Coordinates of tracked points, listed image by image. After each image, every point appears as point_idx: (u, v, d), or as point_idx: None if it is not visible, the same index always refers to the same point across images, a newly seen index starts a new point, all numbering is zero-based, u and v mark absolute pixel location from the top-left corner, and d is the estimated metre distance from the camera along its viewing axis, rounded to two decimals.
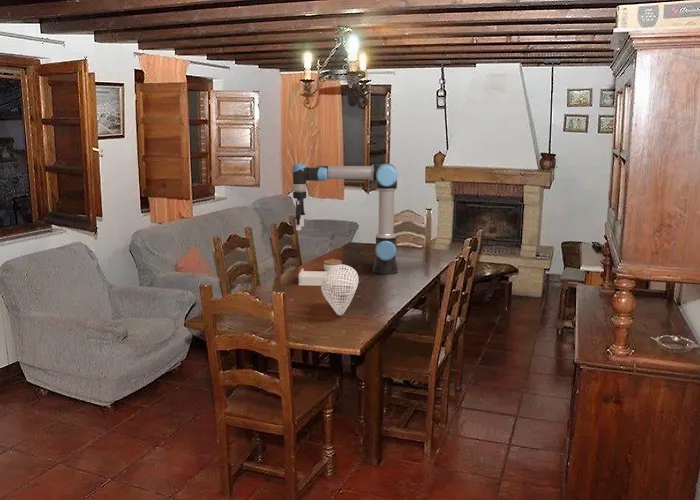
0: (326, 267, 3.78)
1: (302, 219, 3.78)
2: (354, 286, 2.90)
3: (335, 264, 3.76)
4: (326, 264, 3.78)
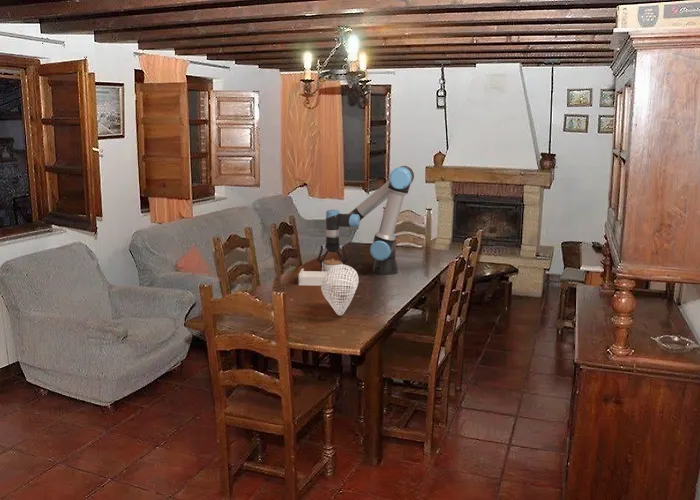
0: (326, 267, 3.78)
1: None
2: (354, 286, 2.90)
3: (335, 264, 3.76)
4: (326, 264, 3.78)
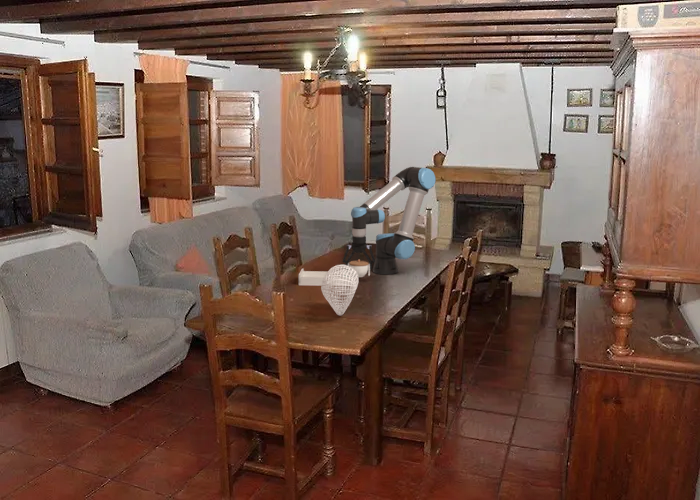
0: None
1: None
2: (354, 286, 2.90)
3: (362, 265, 3.55)
4: (352, 265, 3.56)
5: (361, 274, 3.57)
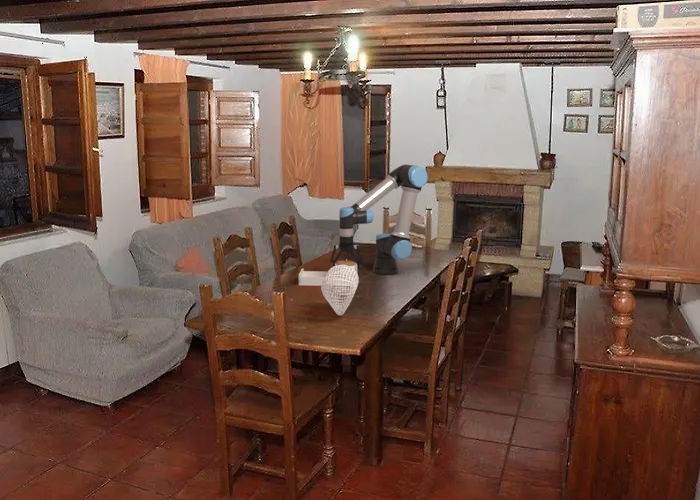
0: (339, 268, 3.57)
1: None
2: (354, 286, 2.90)
3: (349, 265, 3.55)
4: None
5: None
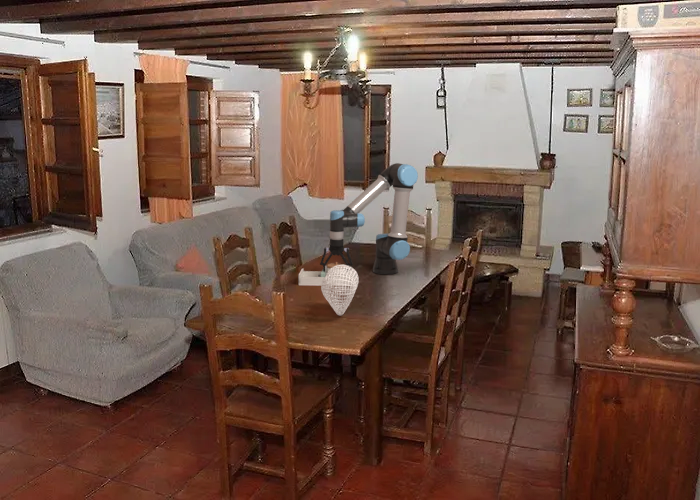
0: None
1: None
2: (354, 286, 2.90)
3: (339, 268, 3.56)
4: (329, 268, 3.57)
5: None
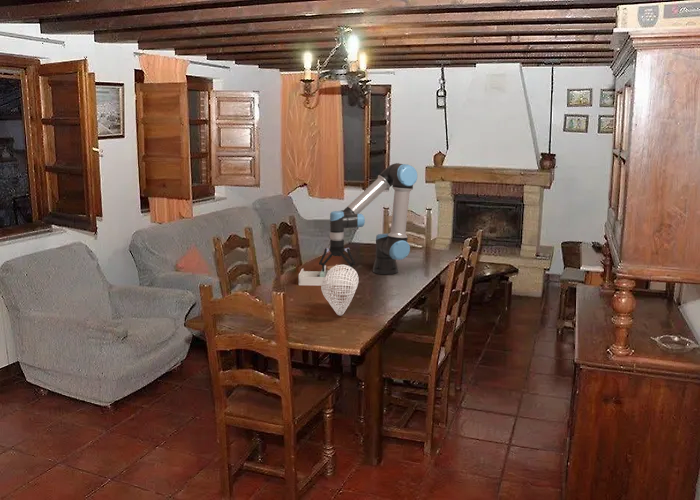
0: (329, 273, 3.58)
1: None
2: (354, 286, 2.90)
3: None
4: None
5: None
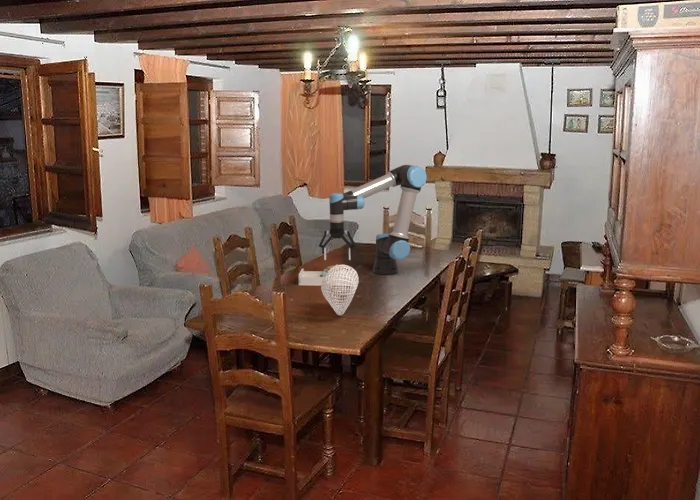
0: None
1: None
2: (354, 286, 2.90)
3: None
4: None
5: None
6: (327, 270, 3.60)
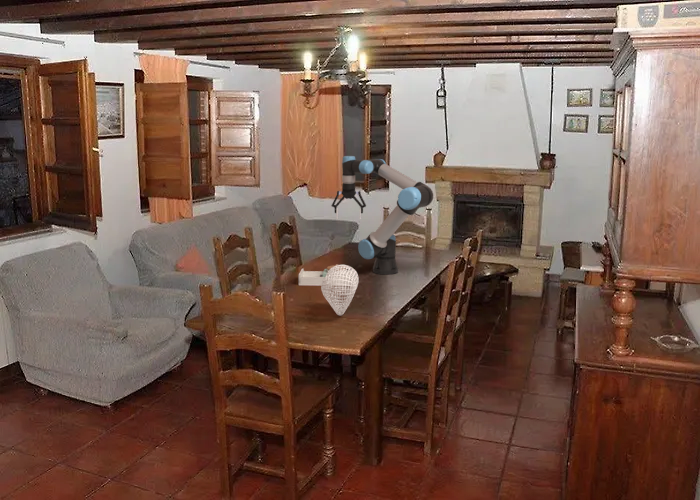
0: None
1: None
2: (354, 286, 2.90)
3: None
4: None
5: None
6: (327, 270, 3.60)
